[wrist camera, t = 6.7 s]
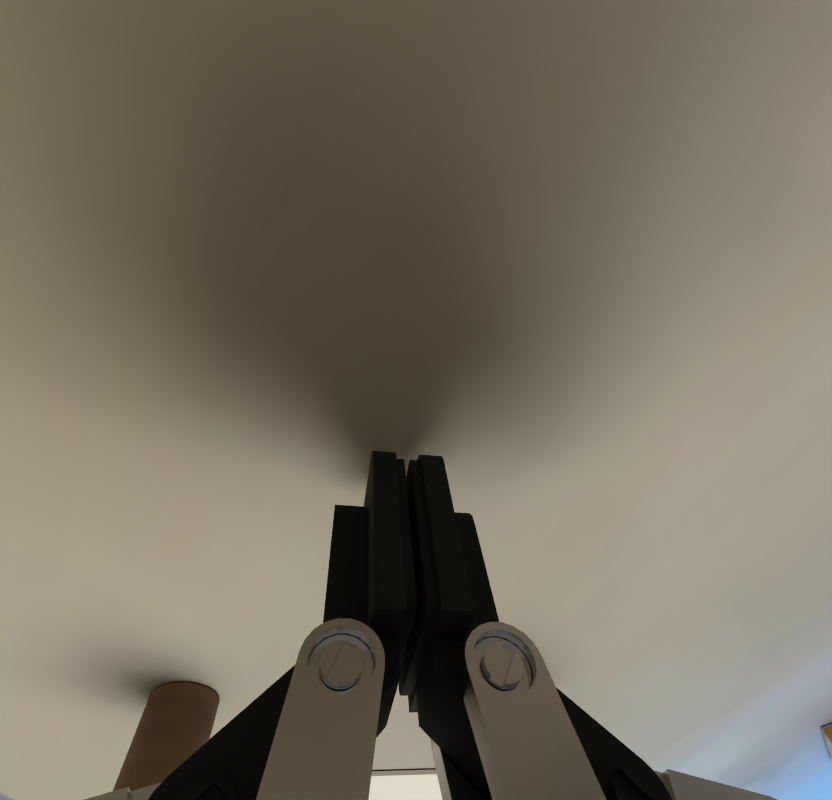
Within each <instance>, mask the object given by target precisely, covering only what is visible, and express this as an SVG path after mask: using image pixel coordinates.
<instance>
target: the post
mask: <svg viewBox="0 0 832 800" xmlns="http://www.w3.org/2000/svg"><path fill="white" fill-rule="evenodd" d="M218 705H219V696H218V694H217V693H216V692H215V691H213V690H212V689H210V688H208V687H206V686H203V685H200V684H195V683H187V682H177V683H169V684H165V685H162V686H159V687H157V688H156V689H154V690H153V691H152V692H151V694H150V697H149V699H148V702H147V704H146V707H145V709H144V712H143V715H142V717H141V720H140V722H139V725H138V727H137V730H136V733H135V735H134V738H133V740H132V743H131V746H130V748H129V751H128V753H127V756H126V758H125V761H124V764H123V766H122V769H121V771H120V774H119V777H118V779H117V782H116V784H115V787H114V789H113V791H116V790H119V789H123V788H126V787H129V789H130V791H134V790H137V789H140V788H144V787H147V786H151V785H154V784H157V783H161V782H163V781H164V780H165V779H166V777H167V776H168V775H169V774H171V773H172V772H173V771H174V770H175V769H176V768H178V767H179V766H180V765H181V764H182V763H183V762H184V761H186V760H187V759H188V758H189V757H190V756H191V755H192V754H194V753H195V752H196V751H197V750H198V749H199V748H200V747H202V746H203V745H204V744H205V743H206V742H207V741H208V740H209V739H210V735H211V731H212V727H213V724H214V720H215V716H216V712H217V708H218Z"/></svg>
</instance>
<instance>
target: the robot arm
mask: <svg viewBox="0 0 832 800" xmlns="http://www.w3.org/2000/svg"><path fill="white" fill-rule="evenodd" d="M398 682H399V692H400V695H408V699H409V712H418V718H419V726H420V727H421V728H422V729H423V730H424V732H425V733H426V734H427V735H428V736H429V737H430V738H431V747H432V753H433V758H434V763H435V767H436V772H437V776H438V781H439V786H440V790H441V795H442V799H443V800H777V799H774V798H772V797H770V796H766V795H762V794H759V793H755V792H751V791H747V790H744V789H740V788H736V787H732V786H729V785H725V784H721V783H717V782H714V781H710V780H706V779H702V778H699V777H695V776H691V775H687V774H684V773H680V772H676V771H672V770H669V769H667V770H666V771H665V772H664V773H660V772H657V771H653V770H652V769H651V768H650V767H649V766H648V765H647V764H646V763H645V762H644V761H643V760H642V759H641V758H639V757H638V756H637V755H636V754H635V753H634V752H632V751H631V750H630V749H629V748H628V747H626V746H625V745H624V744H623V743H622V742H620V741H619V740H618V739H617V738H616V737H614V736H613V735H612V734H611V733H610V732H608V731H607V730H606V729H605V728H604V727H603V726H601V725H600V724H599V723H598V722H597V721H595V720H594V719H593V718H592V717H591V716H589V715H588V714H587V713H586V712H585V711H583V710H582V709H581V708H580V707H579V706H577V705H576V704H575V703H574V702H573V701H572V700H570V699H569V698H568V697H567V696H566V695H564V694H563V693H562V692H561V691H560V690H558V689H557V688H556V687H555V685H554V683H553V680H552V678H551V676H550V674H549V672H548V669H547V667H546V665H545V663H544V660H543V658H542V656H541V654H540V652H539V651H538V649H537V647H536V646H535V644H534V643H533V642H532V641H531V640H530V638H529V637H528V636H527V635H526V634H525V633H523V632H522V631H520V630H519V629H517V628H515V627H514V626H512V625H509V624H506V623H503V622H499V619H498V615H497V611H496V607H495V603H494V599H493V595H492V591H491V587H490V583H489V579H488V575H487V571H486V567H485V563H484V559H483V555H482V551H481V547H480V543H479V539H478V535H477V531H476V527H475V523H474V520H473V517H472V516H471V514H470V513H455V512H454V508H453V504H452V499H451V494H450V489H449V484H448V479H447V475H446V470H445V465H444V460H443V457H442V456H431V455H419V456H418V459H417V460H410V461H409V465H408V470H407V475H405V464H404V459H396V453H395V452H383V451H372V455H371V462H370V468H369V475H368V482H367V488H366V495H365V501H364V507H359V506H344V505H335V511H334V520H333V530H332V540H331V550H330V560H329V570H328V580H327V590H326V600H325V610H324V620H323V624H321V625H319V626H318V627H316V628H315V629H314V630H313V631H312V632H311V633H310V634H309V635H308V636H307V637H306V639H305V640H304V642H303V645H302V647H301V649H300V651H299V654H298V658H297V661H296V664H295V665H294V666H293V667H292V668H291V669H290V670H289V671H288V672H286V673H285V674H284V675H283V676H282V677H281V678H280V679H278V680H277V681H276V682H275V683H274V684H273V685H272V686H270V687H269V688H268V689H267V690H266V691H265V692H263V693H262V694H261V695H260V696H259V697H258V698H257V699H255V700H254V701H253V702H252V703H251V704H250V705H249V706H247V707H246V708H245V709H244V710H243V711H242V712H241V713H239V714H238V715H237V716H236V717H235V718H234V719H233V720H231V721H230V722H229V723H228V724H227V725H226V726H225V727H223V728H222V729H221V730H220V731H219V732H218V733H216V734H215V735H214V736H213V737H212V738H211V739H210V740H208V741H207V742H206V743H205V744H204V745H203V746H202V747H200V748H199V749H198V750H197V751H196V752H195V753H194V754H192V755H191V756H190V757H189V758H188V759H187V760H186V761H184V762H183V763H182V764H181V765H180V766H179V767H178V768H176V769H175V770H174V771H173V772H172V773H171V774H169V775H168V776H167V777H166V779H165V780H164V781H163V782H161V783H157V784H154V785H151V786H147V787H144V788H140V789H137V790H134V791H130V789H129V787H126V788H123V789H119V790H116V791H112V792H109V793H105V794H102V795H99V796H95V797H92V798H88V799H85V800H368V799H369V791H370V783H371V775H372V766H373V758H374V750H375V742H376V738H377V736H378V735H379V734H380V733H381V732H382V730H383V729H384V728H385V727H386V724H387V721H388V717H389V714H390V710H391V707H392V703H393V700H394V696H395V693H396V689H397V686H398Z"/></svg>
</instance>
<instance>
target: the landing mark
mask: <svg viewBox="0 0 832 800" xmlns="http://www.w3.org/2000/svg"><path fill="white" fill-rule="evenodd" d="M368 800H443V799H442V795H441V790H440V786H439V781H438V776H437V772H436V769H434V770H400V771H372V775H371V783H370V791H369V799H368Z"/></svg>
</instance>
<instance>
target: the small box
mask: <svg viewBox="0 0 832 800" xmlns="http://www.w3.org/2000/svg"><path fill="white" fill-rule="evenodd" d="M821 730H822V733H823V736H824V739H825V742H826V745H827V748H828V751H829V754H830V757H831V760H832V724H829V725H826V726H823V727H821Z"/></svg>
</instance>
